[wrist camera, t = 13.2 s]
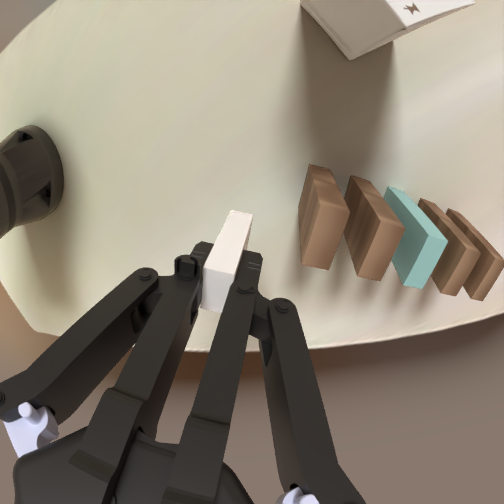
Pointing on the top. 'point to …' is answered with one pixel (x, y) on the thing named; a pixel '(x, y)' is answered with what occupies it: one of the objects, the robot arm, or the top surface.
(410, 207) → the teal tile
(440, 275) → the domino
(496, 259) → the domino
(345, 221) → the domino
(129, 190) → the top surface
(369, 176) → the top surface
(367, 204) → the domino
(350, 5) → the skincare box
